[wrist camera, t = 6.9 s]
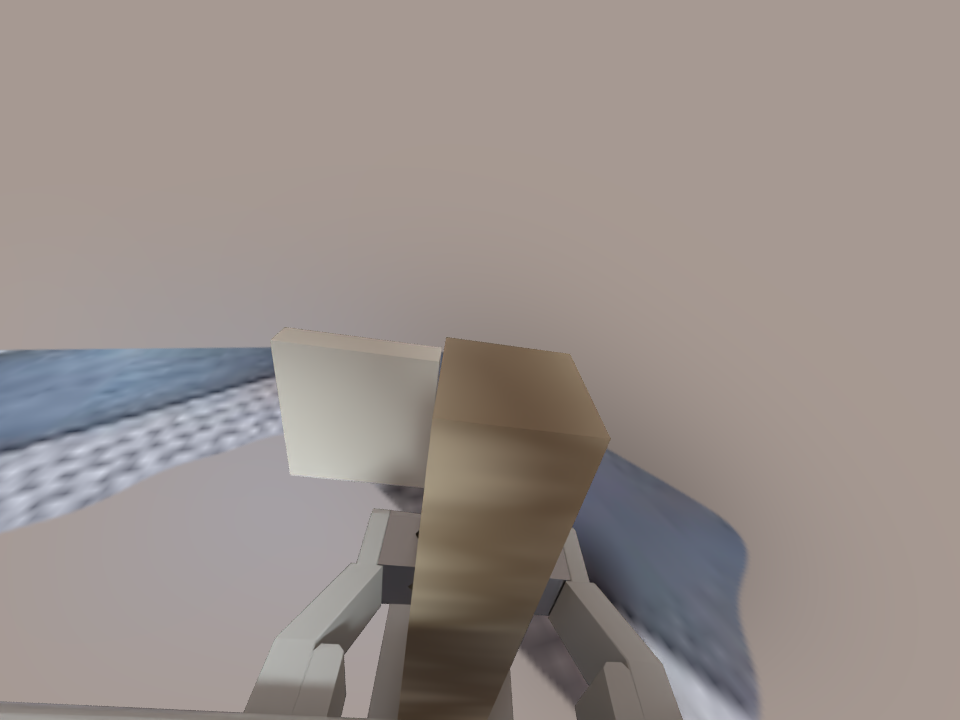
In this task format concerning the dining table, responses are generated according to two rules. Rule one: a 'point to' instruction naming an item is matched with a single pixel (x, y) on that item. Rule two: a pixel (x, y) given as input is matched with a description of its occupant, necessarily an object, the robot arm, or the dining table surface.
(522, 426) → the wooden post on base
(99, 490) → the dining table surface
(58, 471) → the dining table surface
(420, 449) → the tile
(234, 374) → the dining table surface
